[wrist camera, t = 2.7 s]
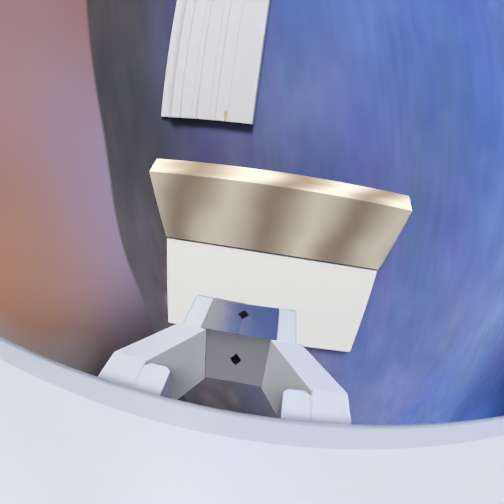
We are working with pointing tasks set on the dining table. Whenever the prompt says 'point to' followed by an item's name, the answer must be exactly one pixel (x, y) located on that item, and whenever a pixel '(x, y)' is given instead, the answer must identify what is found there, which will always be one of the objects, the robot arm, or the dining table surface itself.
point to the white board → (272, 288)
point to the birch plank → (278, 212)
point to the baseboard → (215, 59)
